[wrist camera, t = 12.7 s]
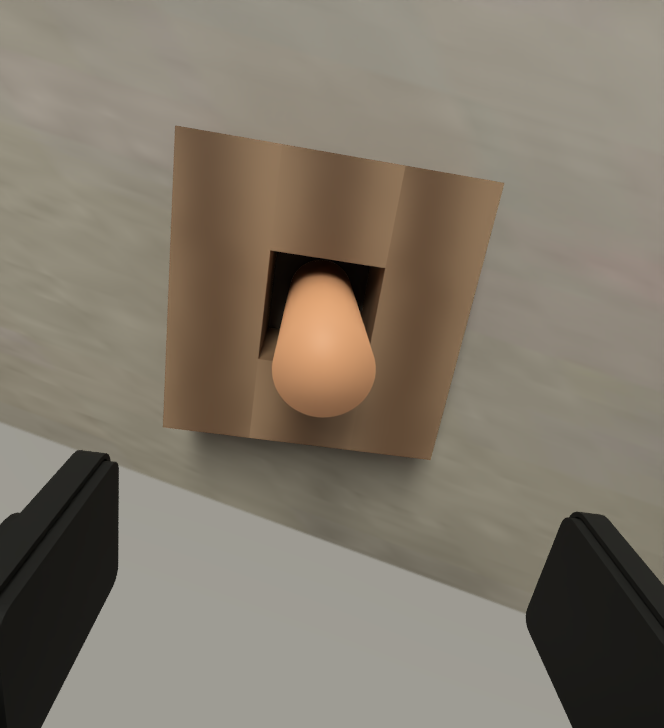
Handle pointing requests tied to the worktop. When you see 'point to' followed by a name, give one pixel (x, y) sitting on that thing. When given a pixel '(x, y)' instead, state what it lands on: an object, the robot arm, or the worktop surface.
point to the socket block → (329, 241)
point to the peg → (322, 344)
